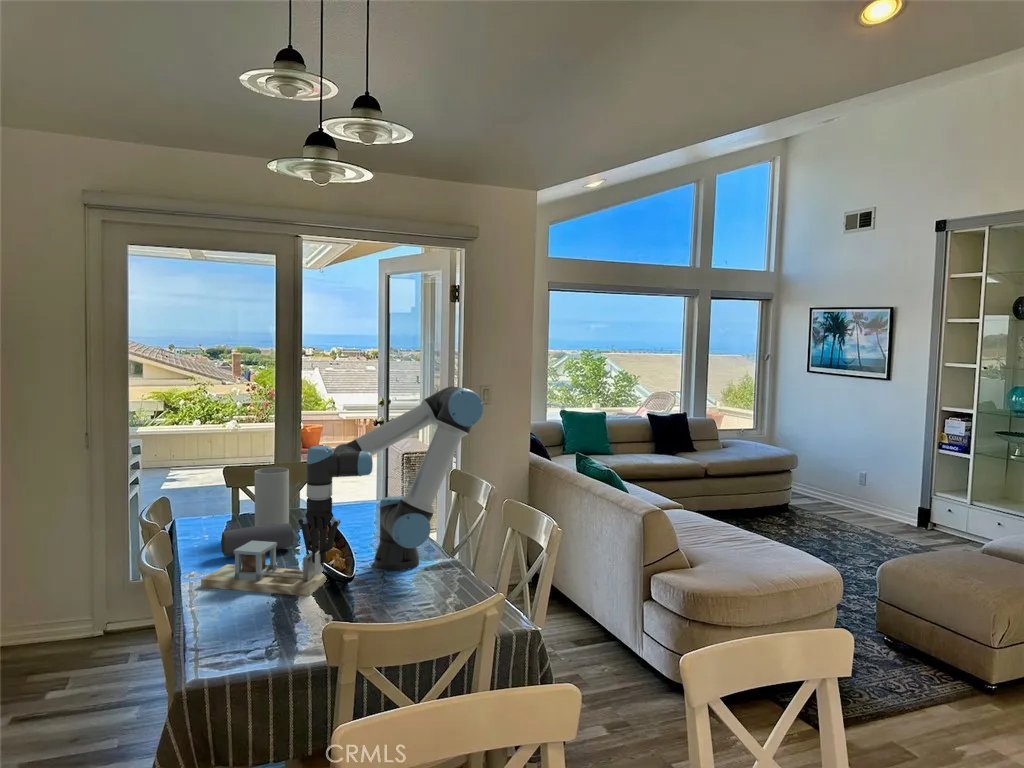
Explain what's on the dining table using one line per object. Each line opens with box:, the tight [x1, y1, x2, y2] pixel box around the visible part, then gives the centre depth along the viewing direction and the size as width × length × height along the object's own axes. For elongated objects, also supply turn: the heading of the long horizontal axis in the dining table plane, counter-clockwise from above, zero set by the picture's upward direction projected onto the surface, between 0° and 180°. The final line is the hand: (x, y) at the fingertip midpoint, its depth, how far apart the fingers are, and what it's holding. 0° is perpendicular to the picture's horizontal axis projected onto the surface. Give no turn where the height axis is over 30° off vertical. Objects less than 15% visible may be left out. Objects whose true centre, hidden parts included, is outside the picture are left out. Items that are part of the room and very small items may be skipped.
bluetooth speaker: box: [220, 522, 295, 557], centre depth 237 cm, size 23×9×10 cm, turn 123°
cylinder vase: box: [254, 467, 290, 526], centre depth 260 cm, size 12×12×25 cm
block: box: [241, 553, 266, 573], centre depth 209 cm, size 5×5×6 cm
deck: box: [200, 563, 327, 597], centre depth 209 cm, size 35×14×3 cm, turn 81°
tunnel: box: [234, 541, 277, 581], centre depth 209 cm, size 9×10×9 cm
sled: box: [241, 552, 315, 581], centre depth 208 cm, size 24×6×7 cm, turn 81°
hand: (319, 573), depth 206 cm, fingers closed
